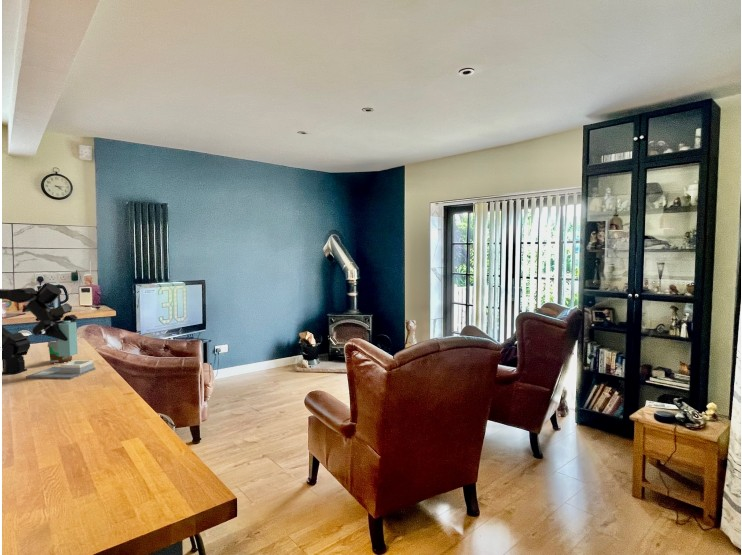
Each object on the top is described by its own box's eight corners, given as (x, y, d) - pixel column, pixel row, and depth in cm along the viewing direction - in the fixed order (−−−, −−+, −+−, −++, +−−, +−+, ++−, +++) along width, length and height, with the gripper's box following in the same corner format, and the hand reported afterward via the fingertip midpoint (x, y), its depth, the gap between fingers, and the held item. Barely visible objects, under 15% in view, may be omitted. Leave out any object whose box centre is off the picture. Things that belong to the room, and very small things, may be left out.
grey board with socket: (25, 378, 170) (25, 368, 170) (53, 368, 184) (53, 359, 184) (71, 378, 169) (70, 368, 169) (95, 369, 183) (94, 359, 183)
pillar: (58, 356, 176) (57, 322, 175) (66, 353, 180) (65, 320, 179) (70, 356, 176) (68, 322, 175) (77, 353, 180) (76, 320, 179)
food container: (62, 365, 190) (61, 342, 189) (48, 365, 190) (47, 342, 189) (81, 358, 202) (80, 336, 202) (68, 358, 202) (67, 336, 202)
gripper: (38, 300, 167) (68, 329, 168) (72, 295, 186) (99, 321, 186) (18, 321, 168) (48, 349, 168) (54, 314, 186) (81, 339, 187)
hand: (71, 339), depth 178 cm, fingers closed on pillar, 4 cm apart
